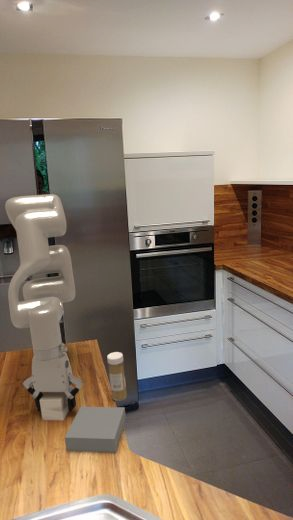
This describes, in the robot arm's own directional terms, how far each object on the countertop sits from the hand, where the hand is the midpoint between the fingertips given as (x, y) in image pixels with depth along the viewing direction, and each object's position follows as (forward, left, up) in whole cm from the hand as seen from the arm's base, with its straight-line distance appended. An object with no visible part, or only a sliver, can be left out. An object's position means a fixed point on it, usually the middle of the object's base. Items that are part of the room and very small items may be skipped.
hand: (56, 408), depth 99 cm
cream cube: (0, 0, -2) cm, 2 cm away
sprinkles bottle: (-8, +16, -2) cm, 18 cm away
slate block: (+8, +14, -2) cm, 16 cm away
